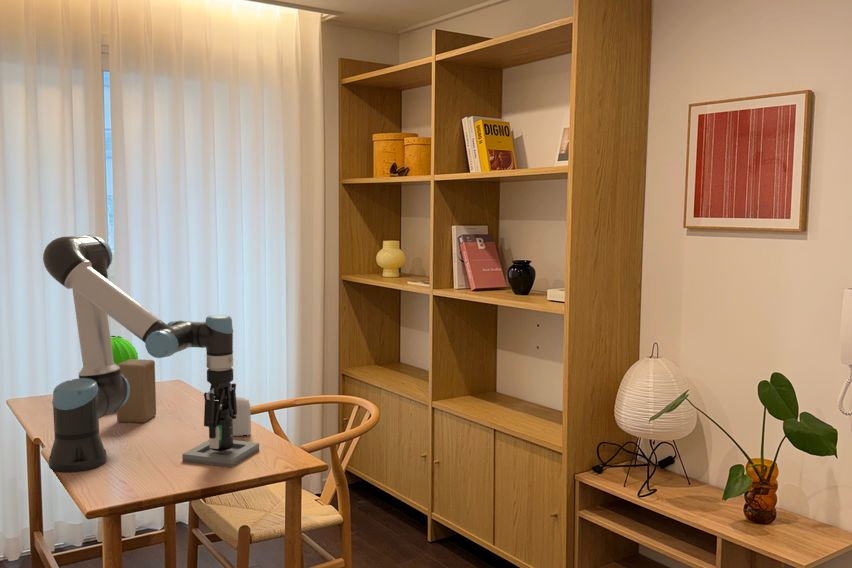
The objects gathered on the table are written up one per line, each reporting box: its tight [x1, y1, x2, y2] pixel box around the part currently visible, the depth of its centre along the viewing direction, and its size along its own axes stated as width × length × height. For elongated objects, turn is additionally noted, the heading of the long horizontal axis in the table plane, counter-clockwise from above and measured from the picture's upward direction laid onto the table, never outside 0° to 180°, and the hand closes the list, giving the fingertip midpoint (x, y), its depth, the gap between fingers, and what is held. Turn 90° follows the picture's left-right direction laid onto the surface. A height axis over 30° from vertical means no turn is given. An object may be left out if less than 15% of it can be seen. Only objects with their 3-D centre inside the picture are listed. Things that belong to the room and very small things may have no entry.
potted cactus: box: [81, 335, 139, 370], centre depth 288 cm, size 22×22×25 cm
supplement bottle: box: [209, 406, 234, 451], centre depth 229 cm, size 7×7×12 cm
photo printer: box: [220, 396, 252, 437], centre depth 249 cm, size 10×4×12 cm, turn 96°
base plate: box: [181, 439, 260, 468], centre depth 230 cm, size 16×16×2 cm
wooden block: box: [116, 358, 157, 424], centre depth 266 cm, size 10×10×20 cm
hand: (221, 444), depth 230 cm, fingers closed on supplement bottle, 7 cm apart
